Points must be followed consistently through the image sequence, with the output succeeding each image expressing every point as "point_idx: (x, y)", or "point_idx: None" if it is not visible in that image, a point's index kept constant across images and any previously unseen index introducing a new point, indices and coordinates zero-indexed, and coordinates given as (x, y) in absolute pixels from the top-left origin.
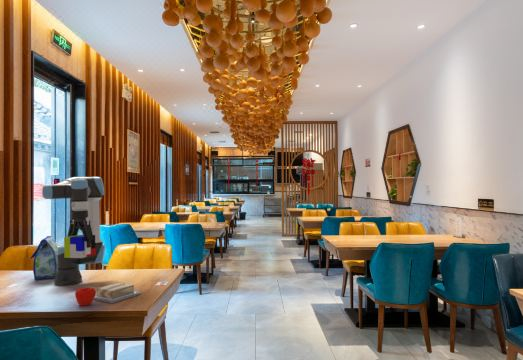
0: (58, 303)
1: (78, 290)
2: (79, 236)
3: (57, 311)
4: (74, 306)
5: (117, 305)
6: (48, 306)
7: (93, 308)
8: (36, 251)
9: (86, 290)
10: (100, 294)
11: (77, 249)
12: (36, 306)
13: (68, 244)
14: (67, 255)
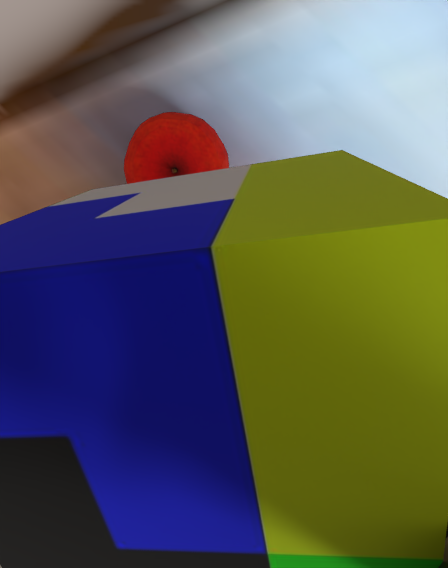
0: (351, 131)
1: (188, 135)
2: (115, 447)
3: (233, 11)
4: (219, 118)
5: (45, 199)
6: (364, 66)
7: (102, 126)
8: None
9: (146, 156)
10: None
11: (103, 201)
12: (441, 37)
13: (277, 192)
14: (294, 161)
